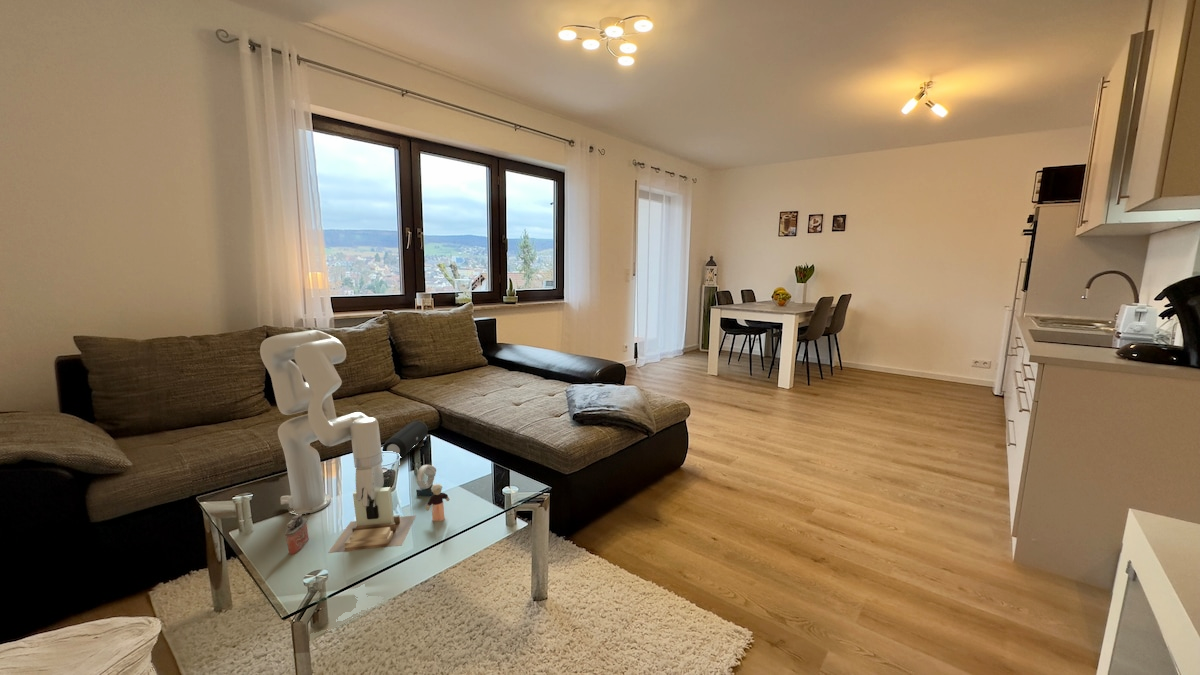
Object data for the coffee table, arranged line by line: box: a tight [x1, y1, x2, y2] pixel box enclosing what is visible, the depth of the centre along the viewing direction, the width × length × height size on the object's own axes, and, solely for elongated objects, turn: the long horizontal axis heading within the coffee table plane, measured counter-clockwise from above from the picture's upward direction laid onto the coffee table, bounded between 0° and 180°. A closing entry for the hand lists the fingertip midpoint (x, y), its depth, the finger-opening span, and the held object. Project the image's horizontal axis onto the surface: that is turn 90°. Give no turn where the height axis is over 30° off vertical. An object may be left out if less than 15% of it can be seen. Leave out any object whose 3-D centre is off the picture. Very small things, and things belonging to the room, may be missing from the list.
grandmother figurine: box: [425, 482, 450, 522], centre depth 146 cm, size 8×4×13 cm, turn 148°
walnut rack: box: [328, 514, 417, 554], centre depth 140 cm, size 20×16×4 cm
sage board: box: [352, 486, 395, 526], centre depth 141 cm, size 10×2×12 cm, turn 97°
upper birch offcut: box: [350, 527, 391, 542], centre depth 136 cm, size 10×4×2 cm, turn 97°
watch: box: [416, 464, 437, 497], centre depth 163 cm, size 6×8×11 cm
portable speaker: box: [381, 420, 429, 459], centre depth 204 cm, size 26×10×10 cm, turn 177°
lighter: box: [284, 514, 310, 555], centre depth 134 cm, size 8×3×10 cm, turn 5°
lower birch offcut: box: [345, 531, 393, 548], centre depth 136 cm, size 12×4×2 cm, turn 97°
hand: (374, 515), depth 142 cm, fingers closed on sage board, 2 cm apart
